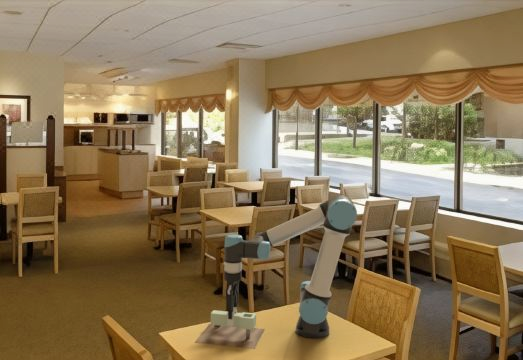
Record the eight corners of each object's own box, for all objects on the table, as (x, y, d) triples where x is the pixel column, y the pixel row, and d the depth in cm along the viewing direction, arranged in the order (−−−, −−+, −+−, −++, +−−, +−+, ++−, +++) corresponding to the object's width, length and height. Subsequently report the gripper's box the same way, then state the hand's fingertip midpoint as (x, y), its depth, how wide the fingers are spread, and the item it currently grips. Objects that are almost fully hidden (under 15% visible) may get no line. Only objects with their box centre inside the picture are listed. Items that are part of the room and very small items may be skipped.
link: (255, 324, 233) (256, 313, 232) (252, 329, 227) (253, 318, 227) (213, 320, 237) (214, 309, 236) (209, 325, 231) (210, 314, 230)
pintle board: (264, 331, 242) (265, 309, 241) (254, 351, 221) (254, 327, 220) (209, 325, 247) (209, 304, 246) (194, 344, 226) (194, 322, 225)
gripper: (229, 265, 238) (228, 315, 241) (218, 275, 222) (218, 330, 225) (246, 266, 237) (245, 317, 240) (236, 277, 220) (235, 332, 223)
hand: (232, 323), depth 232 cm, fingers closed on link, 4 cm apart
